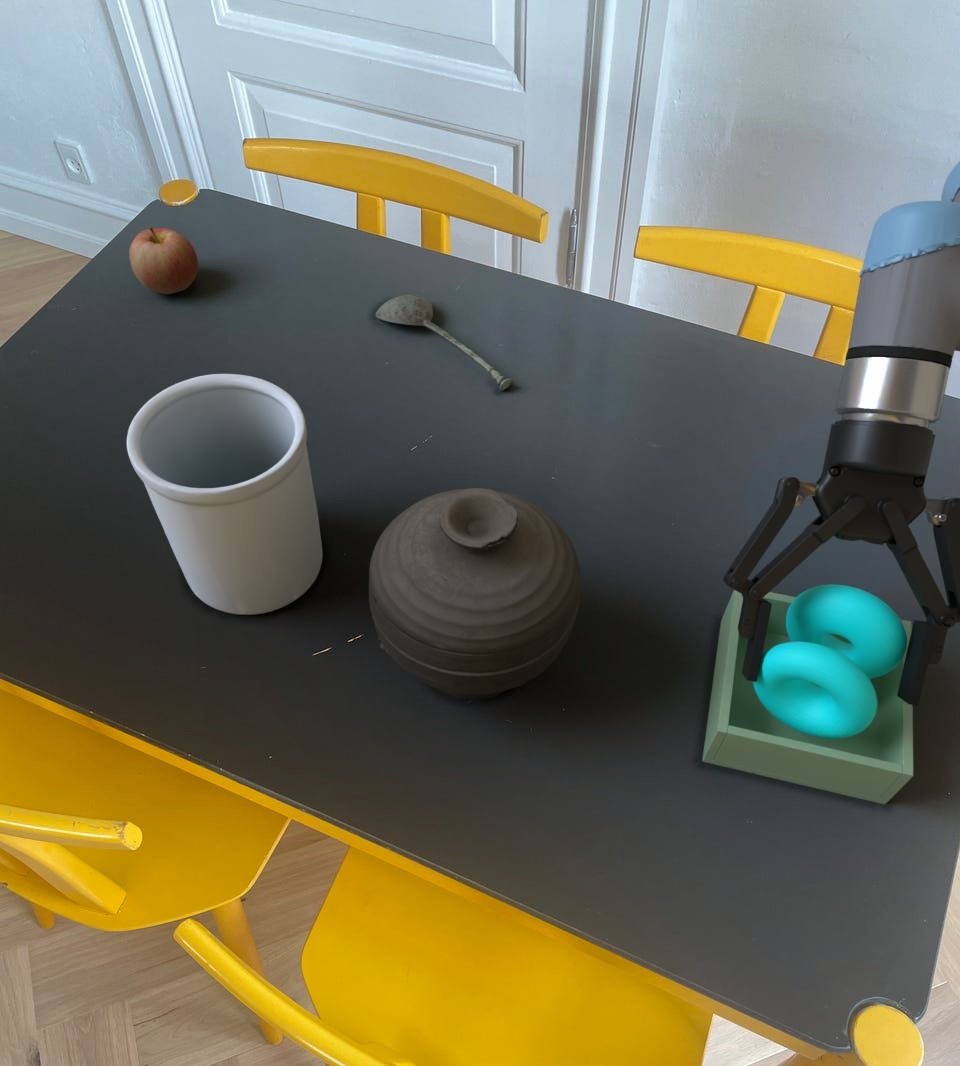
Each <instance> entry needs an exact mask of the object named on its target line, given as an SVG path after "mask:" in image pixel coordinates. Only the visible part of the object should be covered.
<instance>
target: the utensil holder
mask: <svg viewBox="0 0 960 1066" xmlns="http://www.w3.org/2000/svg"><path fill="white" fill-rule="evenodd" d="M126 435H127V436H126V451H127V454H128V458H129V461H130V463H131V465H132V468H133V470H134V471H135V473H136V474H137V476H138V477H139V478H140V480H141V481H142V483H143V484H144V487H145V490H146V491H147V495H148V496H149V499H150V501H151V504H152V506H153V508H154V511H155V513H156V515H157V517H158V520H159V522H160V524H161V526H162V529H163V531H164V534H165V536H166V538H167V540H168V543H169V545H170V548H171V549H172V552H173V554H174V556H175V558H176V561H177V563H178V565H179V567H180V569H181V571H182V573H183V576H184V578H185V580H186V582H187V585H188V586H189V587H190V590H191V591H192V592H193V594H194V595H195V596H196V597H197V598H198V599H199V600H200V601H202V603H204V604H206V605H207V606H209V607H211V608H213V609H215V610H218V611H221V612H224V613H227V614H232V615H241V616H243V615H244V616H245V615H246V616H250V615H260V614H261V615H262V614H266V613H270V612H274V611H277V610H279V609H281V608H283V607H286V606H288V605H289V604H291V603H293V602H294V601H296V600H298V599H299V598H300V597H301V596H303V595H304V594H305V593H306V592H307V591H308V590H309V589H310V588H311V587H312V585H313V584H314V582H315V581H316V579H317V577H318V576H319V573H320V570H321V567H322V563H323V544H322V537H321V529H320V520H319V514H318V507H317V500H316V496H315V490H314V484H313V477H312V471H311V466H310V465H311V464H310V459H309V452H308V448H307V447H308V446H307V440H308V438H307V437H308V430H307V423H306V418H305V415H304V412H303V411H302V409H301V407H300V405H299V403H298V402H297V401H296V400H295V398H294V397H292V395H290V394H289V393H288V392H287V391H286V390H284V389H283V388H281V387H280V386H278V385H276V384H274V383H272V382H270V381H268V380H265V379H262V378H259V377H256V376H251V375H245V374H236V373H212V374H205V375H199V376H195V377H192V378H188V379H185V380H182V381H180V382H178V383H175V384H172V385H171V386H168V387H167V388H165V389H163V390H161V391H160V392H159V393H157V394H155V395H154V396H153V397H151V398H150V399H149V400H148V401H146V402H145V404H143V405H142V407H141V408H140V409H139V410H138V411H137V413H136V414H135V415H134V417H133V418H132V420H131V423H130V425H129V427H128V430H127V434H126Z"/></svg>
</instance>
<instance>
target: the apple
mask: <svg viewBox="0 0 960 1066" xmlns="http://www.w3.org/2000/svg"><path fill="white" fill-rule="evenodd" d="M128 250H129V251H128V258H129V263H130V267H131V269H132V272H133V274H134V275H135V277H136V278H137V280H138V281H139V283H141V285H143V286H144V287H145V288H146V289H147V290H150V291H152V292H154V293H157V294H160V295H161V294H162V295H171V294H175V293H178V292H182V291H184V290H187V288H189V287H190V285H192V283H193V282H194V280H195V278H196V277H197V274H198V269H199V259H198V257H197V256H198V255H197V253H196V250H195V248H194V246H193V245H192V243H191V242H190V240H188V239H187V238H186V236H184V235H182V234H181V233H179V232H178V231H175V230H173V229H170V228H163V227H162V228H161V227H155V228H153V226H149V227H148V229H145V230H142V231H141V232H139V233H138V234H137V235H135V236H134V239H133V240H132V241H131V244H130V247H129V249H128Z"/></svg>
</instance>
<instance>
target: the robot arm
mask: <svg viewBox="0 0 960 1066" xmlns="http://www.w3.org/2000/svg"><path fill="white" fill-rule="evenodd" d="M940 198H941V200H921V201H912V202H907V203H902V204H899V205H896V206H894V207H891V208H890V209H888V210H887V211H885V212H883V213H882V214H881V215H880V216H879V217H878V218H877V219H876V221H875V222H874V225H873V227H872V231H871V234H870V238H869V240H868V243H867V247H866V251H865V256H864V259H863V263H862V267H861V270H860V271H859V278H860V279H859V285H858V289H857V296H856V300H855V306H854V312H853V318H852V323H851V327H850V328H851V330H850V334H849V339H848V346H847V350H846V354H845V359H844V364H843V370H842V375H841V379H840V384H839V387H838V393H837V397H836V401H835V407H834V411H835V412H836V413H837V414H838V415H840V416H841V417H840V420H836V421H834V423H833V424H831V426H830V432H829V436H828V441H827V446H826V451H825V455H824V460H823V466H822V471H821V473H820V476H819V478H818V479H817V481H815V482H809V481H804V480H800V479H799V478H797V477H794V476H783V477H781V478H780V479H778V482H777V484H776V488H775V492H774V497H773V501H772V504H771V505H770V507H769V508H768V509H767V511H766V513H765V514H764V515H763V517H762V519H761V520H760V521H759V523H758V524H757V526H756V527H755V529H754V531H753V532H752V533H751V535H750V537H749V538H748V540H747V541H746V542H745V543H744V545H743V547H742V548H741V550H740V552H739V553H738V554H737V556H736V557H735V559H734V560H733V561H732V563H731V565H730V567H729V568H727V571H726V572H725V574H724V576H723V582H724V584H725V585H726V586H727V587H728V588H730V589H731V590H733V591H734V590H736V591H738V592H740V593H741V594H742V596H743V603H742V608H741V613H740V618H739V624H738V632H739V635H740V636H741V637H743V638H748V643H747V648H746V653H745V659H744V664H743V669H742V674H743V675H744V677H745V678H746V679H747V681H754V682H757V678H758V673H759V668H760V663H761V658H762V653H763V647H764V642H765V637H766V632H767V627H768V622H769V617H770V612H771V607H772V604H771V603H770V602H768V601H767V600H766V599H762V598H763V597H764V596H765V595H767V594H768V593H769V592H772V591H773V589H774V588H776V587H777V586H778V585H779V584H780V583H781V582H782V581H783V580H784V579H785V578H786V577H787V576H789V575H790V574H791V573H792V572H793V571H794V570H795V569H796V568H798V566H800V565H801V564H802V563H803V562H804V561H806V559H807V558H808V557H810V555H812V554H813V553H814V552H815V551H816V550H817V549H818V548H819V547H821V546H822V545H823V544H825V543H827V542H828V541H830V539H831V538H833V537H834V538H835V539H839V540H841V541H850V542H857V541H863V542H865V543H869V544H872V545H880V546H883V545H885V544H886V546H887V548H888V549H889V551H890V552H891V553H892V554H893V556H894V558H895V560H896V562H897V565H898V566H899V568H900V570H901V572H902V574H903V576H904V578H905V579H906V582H907V584H908V586H909V587H910V589H911V592H912V593H913V595H914V597H915V599H916V601H917V603H918V605H919V607H920V609H921V611H922V613H923V614H924V617H925V619H926V621H925V620H920V619H913V623H912V626H911V627H912V632H911V636H910V641H909V645H908V649H907V654H906V658H905V663H904V667H903V671H902V676H901V680H900V684H899V689H898V693H897V696H898V697H899V698H901V699H902V700H903V701H905V702H906V703H908V704H911V705H912V706H919V703H920V699H921V695H922V691H923V687H924V682H925V678H926V673H927V670H928V665H935V666H937V665H938V664H939V662H940V661H941V659H942V655H943V651H944V647H945V643H946V638H947V635H948V631H949V629H951V628H953V627H955V626H956V624H958V623H960V497H953V496H942V497H926V493H925V487H924V486H925V482H926V478H927V474H928V470H929V466H930V461H931V458H932V452H933V449H934V444H935V443H934V442H935V439H936V434H934V431H933V430H932V429H930V424H935V423H936V422H938V421H939V420H940V419H941V418H940V417H941V415H942V414H941V413H942V408H943V403H944V398H945V394H946V389H947V384H948V380H949V374H950V370H951V368H952V364H953V363H952V362H953V358H954V355H955V352H960V160H958V162H957V163H956V164H955V165H954V167H953V168H952V169H951V171H950V172H949V174H948V175H947V177H946V179H945V181H944V184H943V187H942V192H941V197H940ZM810 497H811V499H812V501H813V502H814V504H815V507H816V509H817V511H818V513H819V515H818V516H817V517H816V518H814V520H812V522H810V523H809V524H808V525H807V526H806V527H805V528H804V529H803V531H802V533H800V534H799V535H798V536H797V537H796V538H795V539H794V540H793V541H791V542H790V544H788V545H787V546H786V547H785V548H784V549H782V551H781V552H780V553H778V554H777V555H776V556H775V557H774V558H773V559H772V560H771V561H769V563H767V565H765V567H763V568H762V569H761V570H759V572H758V573H757V574H755V576H753V578H751V579H748V578H749V577H750V575H751V574H752V572H753V571H754V569H756V567H757V565H758V564H759V562H760V561H761V559H762V558H763V556H764V555H765V553H766V552H767V550H768V549H769V547H770V546H771V544H772V543H773V541H774V540H775V538H776V537H777V535H779V532H780V531H781V529H782V528H783V527H784V525H785V524H786V522H787V521H788V519H789V518H790V516H791V515H792V512H793V511H794V508H798V507H801V506H802V505H803V504H804V503H805V501H806V499H807V498H810ZM923 512H924V513H925V515H926V519H927V522H928V523H929V524H931V525H932V531H933V538H934V542H935V547H936V552H937V557H938V562H939V566H940V570H941V577H942V581H943V585H944V586H943V587H944V589H945V594H946V600H947V603H946V600H945V598H944V597H943V595H942V593H941V590H940V588H939V587H938V585H937V583H936V581H935V579H934V577H933V575H932V573H931V571H930V569H929V568H928V565H927V563H926V562H925V561H926V560H924V558H923V555H922V553H921V551H920V549H919V547H918V546H919V545H918V542H917V540H916V538H915V536H914V534H913V531H912V529H911V528H910V525H911V524H912V522H914V521H915V520H916V519H918V517H919V516H920V515H921V514H922V513H923Z"/></svg>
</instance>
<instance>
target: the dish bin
mask: <svg viewBox="0 0 960 1066" xmlns="http://www.w3.org/2000/svg"><path fill="white" fill-rule="evenodd" d="M796 597H797V596H791V595H787V594H781V593H778V592H772V591H770V592H769V593H768V594H767V595H765V596H764V597H763V598H762V599H766V600H767V601H768V602H770V603H771V604H772V607H771V612H770V617H769V622H768V627H767V632H766V637H765V642H764V647H763V653H764V652H765V651H767V650H768V649H770V648H772V647H774V646H776V645H779V644H782V643H787V642H791V641H790V638H789V636H788V633H787V629H786V615H787V611H788V609H789V607H790V605H791V603H792V602H793V600H794V599H795V598H796ZM742 603H743V596H742V594H741V593H740V592H738V591H736V590H734V589H733V592H732V594H731V596H730V598H729V600H728V604H727V606H726V608H725V611H724V613H723V615H722V617H721V620H720V626H719V633H718V642H717V648H716V657H715V663H714V671H713V678H712V686H711V693H710V699H709V701H710V702H709V707H708V708H709V709H708V715H707V723H706V729H705V738H704V744H703V753H702V762H703V763H708V764H711V765H716V766H720V767H724V768H728V769H731V770H732V769H733V770H737V771H742V772H746V773H750V774H754V775H758V776H762V777H767V778H771V779H775V780H780V781H782V782H783V781H784V782H787V783H792V784H796V785H800V786H805V787H808V788H809V787H810V788H813V789H818V790H822V791H826V792H830V793H835V794H839V795H844V796H847V797H852V798H856V799H861V800H863V801H864V800H865V801H868V802H873V803H877V804H882V805H886V804H887V803H888V802H889V801H891V799H893V798H894V796H896V794H897V793H898V792H900V790H901V789H902V788H903V787H904V786H905V785H906V784H907V783H909V781H910V780H911V779H912V778H913V777H914V722H913V721H914V720H913V719H914V716H913V715H914V714H913V713H914V711H913V710H914V709H913V707H914V705H911V704H908V703H906V702H905V701H903V700H902V699H901V698H899V697H898V696H897V693H898V689H899V684H900V680H901V676H902V671H903V667H904V663H905V658H906V654H907V649H908V645H909V641H910V636H911V632H912V627H913V626H912V621H911V620H907V619H902V618H900V620H901V621H902V623H903V625H904V628H905V631H906V635H907V648H906V652H905V655H904V657H903V659H902V660H901V662H900V663H899V664H898V665H897V666H896V667H895V668H894V669H893V670H891V671H890V672H888V673H887V674H885V675H882V676H879V677H876V678H872V679H870V681H871V683H872V685H873V687H874V689H875V692H876V697H877V710H876V714H875V717H874V718H873V720H872V722H871V723H870V725H869V726H868V727H867V728H866V729H865V730H863V731H862V732H860V733H858V734H856V735H854V736H851V737H847V738H840V739H827V738H819V737H815V736H811V735H808V734H805V733H802V732H800V731H797V730H795V729H793V728H791V727H789V726H787V725H786V724H784V723H783V722H781V721H780V720H778V719H777V718H776V717H775V716H773V715H772V714H771V713H770V712H769V711H768V710H767V709H766V708H765V706H764V705H763V704H762V703H761V701H760V700H759V698H758V696H757V694H756V692H755V689H754V685H753V681H747V679H746V678H745V677H744V675H743V674H742V669H743V664H744V659H745V653H746V648H747V643H748V638H743V637H741V636H740V635H739V632H738V624H739V618H740V613H741V608H742ZM831 635H832V636H834V637H835V638H837V639H839V640H841V641H843V642H846V643H850V644H852V643H851V642H850V641H849V640H848V639H846V638H844V637H842V636H840V635H837V634H831ZM763 653H762V654H763ZM812 684H813V683H812ZM814 685H815V684H814ZM815 686H817V685H815ZM818 687H819V686H818ZM820 688H821V687H820Z"/></svg>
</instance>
